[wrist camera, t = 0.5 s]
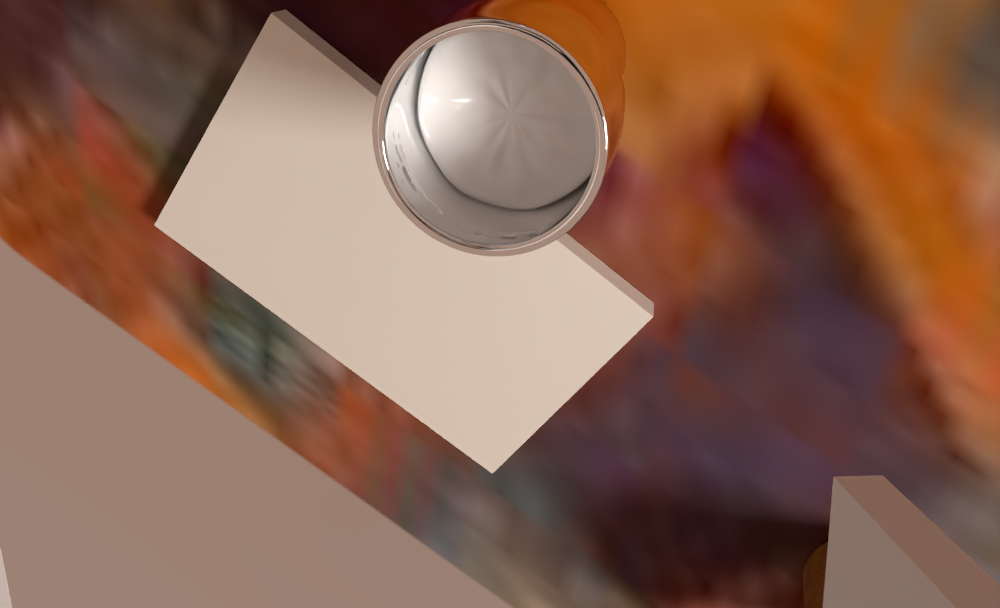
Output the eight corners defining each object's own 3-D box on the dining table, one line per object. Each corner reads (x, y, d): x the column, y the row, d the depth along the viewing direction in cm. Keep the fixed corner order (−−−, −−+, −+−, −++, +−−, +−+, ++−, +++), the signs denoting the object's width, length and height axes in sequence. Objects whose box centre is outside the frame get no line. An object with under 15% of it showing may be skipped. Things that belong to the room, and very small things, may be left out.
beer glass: (456, 99, 36) (335, 204, 23) (512, -56, 33) (408, -37, 20) (595, 161, 36) (553, 301, 23) (664, 12, 33) (663, 77, 20)
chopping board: (170, 215, 42) (154, 225, 40) (285, 9, 36) (271, 13, 35) (497, 457, 45) (492, 473, 43) (653, 303, 39) (653, 316, 37)
